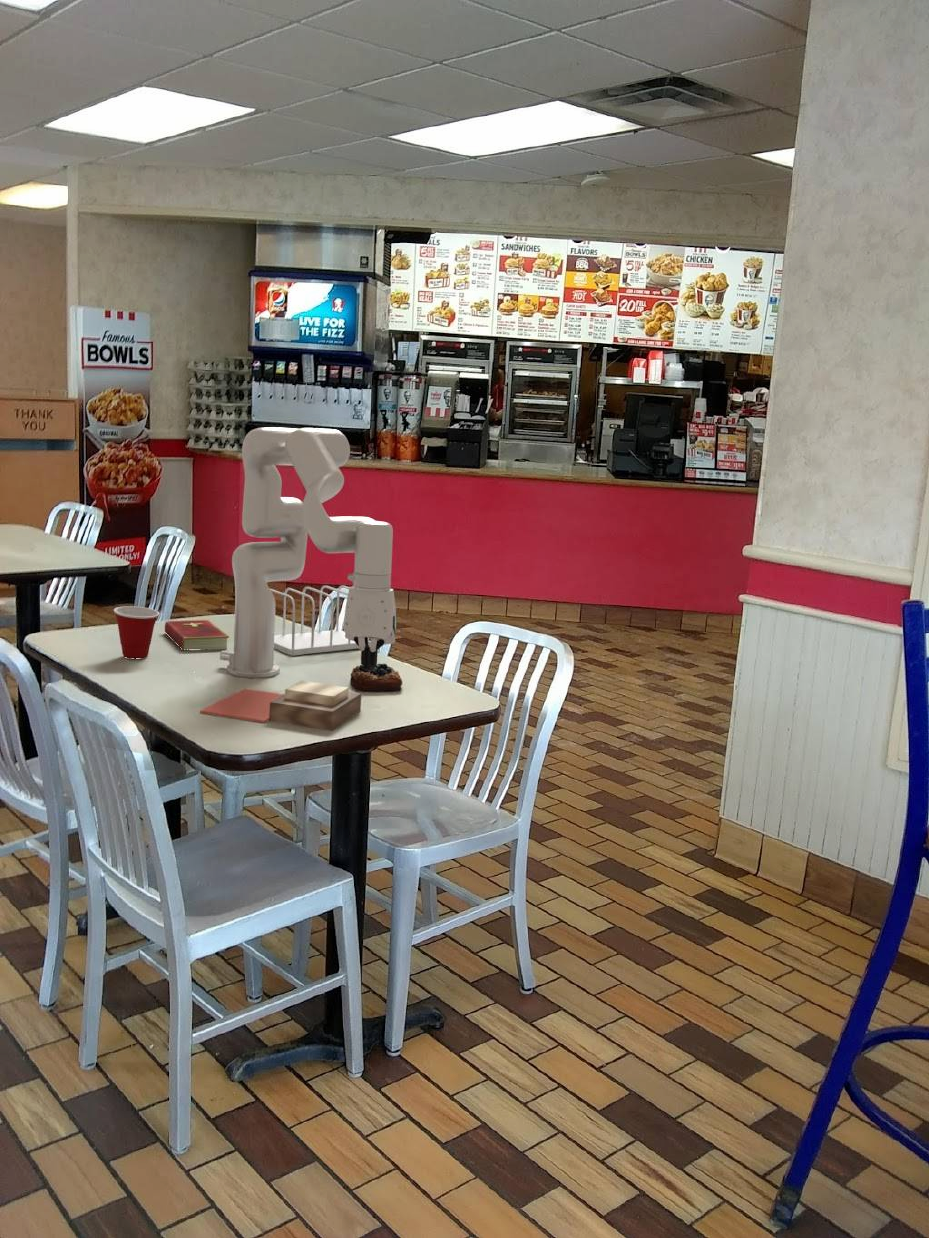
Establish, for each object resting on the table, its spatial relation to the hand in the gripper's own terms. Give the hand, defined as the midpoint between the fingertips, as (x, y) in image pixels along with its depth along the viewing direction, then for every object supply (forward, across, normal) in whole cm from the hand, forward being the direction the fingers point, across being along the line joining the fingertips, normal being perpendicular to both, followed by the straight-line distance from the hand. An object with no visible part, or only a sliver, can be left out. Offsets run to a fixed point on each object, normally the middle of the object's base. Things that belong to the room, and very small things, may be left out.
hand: (368, 668), depth 222 cm
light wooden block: (+8, -12, 0) cm, 14 cm away
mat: (+11, -26, 0) cm, 29 cm away
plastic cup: (+11, -71, +24) cm, 75 cm away
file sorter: (+11, -38, +61) cm, 73 cm away
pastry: (+12, -9, +30) cm, 33 cm away
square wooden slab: (+12, -12, 0) cm, 17 cm away
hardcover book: (+11, -68, +48) cm, 83 cm away
